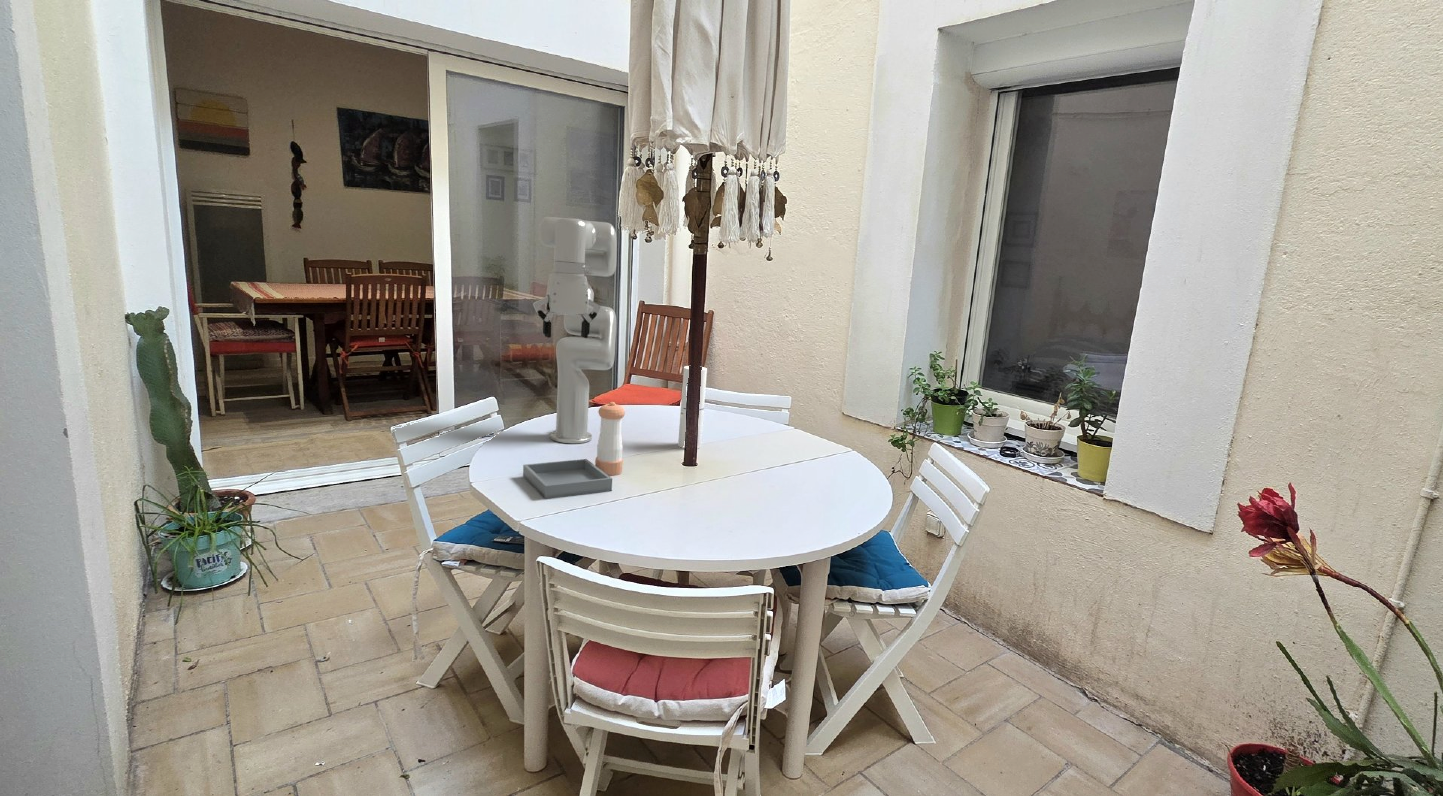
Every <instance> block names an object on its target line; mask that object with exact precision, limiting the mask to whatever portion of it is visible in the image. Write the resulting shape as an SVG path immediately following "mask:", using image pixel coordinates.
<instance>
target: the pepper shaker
mask: <svg viewBox="0 0 1443 796" xmlns="http://www.w3.org/2000/svg"><path fill="white" fill-rule="evenodd" d="M597 413H598V415H599V417H600V430H599V432H600V433H599V437H598V440H597V441H598V442H597V446H596V447H597V449H596V451H597V452H596V458H595V461H594V462H595V463H594V465H595V466H596V467H598V468H599V469H600V470H602V471H603V472H604V473H606V474H607V475H608V476H617V475H620V474H622V473H623V465H624V464H623V461H624V459H623V458H622V456H623V442H622V440H623V439H622V421H623V420H622V419H623V418H624V417H625V415H626V410H625V408H624V407H623V406H621V405H619V404H616V402H614V401H610V402H609V403H607V404H604V405H601V406H600V407H599V408H598V411H597Z"/></svg>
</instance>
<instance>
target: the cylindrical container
mask: <svg viewBox="0 0 1443 796" xmlns="http://www.w3.org/2000/svg"><path fill="white" fill-rule="evenodd" d="M689 366H690V365H685V366H684V367H683V374H682V375H683V377H682V389H681V403H680V414H679V415H680V418H679V429H678V441H677V442H678V443H677V447H678V446H680V447H682V448H681V449H683V446H684V441H685V432H686V386H687V383H688V378H689ZM701 367H702V370H701V393H700V404H699V426H698V446H699V448H700V446H701V447H702V437H703V436H702V434H703V424H704V423H703V422H704V413H705V412H704V411H705V400H706V399H705V398H706V390H707V389H706V388H707V374H708V368H707V367H703V366H701ZM680 447H679V448H680ZM700 449H701V448H700Z"/></svg>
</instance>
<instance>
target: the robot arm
mask: <svg viewBox="0 0 1443 796" xmlns="http://www.w3.org/2000/svg"><path fill="white" fill-rule="evenodd" d="M538 236H539V237H538V238H539V240H540V243H541V244H542V245H543V246H544V247H548V248H554V251H553V252H554V253H553V273H550V274H549V277H548V280H547V286H546V293H545V294H546V295H545V297H543V298H540V299H539V300H536V301H534V302H533V303H532V306H533V309H534V310H535V312H536V314H537V316H538V317H539V318H540V319H541V321H543V322H542V333H543V334H544V337H546V338H548V339H549V338H551V337H552V321H551V319H552V318H553V317H554V316H555V315H563V327H564V330H565V332H566V333H567V334H569V335H574V336H565V337H562V338H560V339H559V340H558V341H557V343H556V347H555V358H556V364H557V365H556V366H557V390H556V391H557V393H556V394H557V395H556V396H557V397H556V398H557V399H556V418H555V420H556V422H555V431H552V432H551V433H550V439H551V440H552V441H555V442H558V443H562V444H563V443H564V444H583V443H588V442H590V441H592V439H593V434H592V433H591V432H589V431H588V423H589V422H588V421H589V420H588V419H589V401H590V382H589V379H588V378H587V376H586V374H585V372H583V371H582V370H592V371H593V370H595V371H608V370H610V369H612V368H613V366H614V363H615V356H616V337H617V315H616V312H615V310H614V309H613V308H612V307H610V306H603V305H600V304H598V303H597V302H595V301H594V300H595V299H594V297H595V292H594V290H593V288H592V286H591V285H590V284H589V282H588V278H587V276H591V277H593V276H595V277H596V276H597V277H606V278H607V277H611V276H613V275H615V272H616V269H617V261H618V260H617V259H618V258H617V247H618V246H617V245H618V242H617V233H616V229H615V226H614V225H613V224H611V223H610V222H606V221H597V220H596V221H594V220H583V219H581V218H574V217H573V218H571V217H566V218H565V217H557V216H555V217H553V216H552V217H551V216H545V217H543V218H542V219H541V221H540V223H539V227H538ZM543 305H544V306H545V312H544V311H543V310H542V306H543ZM592 337H593V338H592ZM594 337H595V338H594Z"/></svg>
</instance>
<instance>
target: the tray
mask: <svg viewBox="0 0 1443 796" xmlns="http://www.w3.org/2000/svg"><path fill="white" fill-rule="evenodd" d="M522 465H523V466H522V467H523V471H522V477H523V478H524V479H525V481H527V483H528V484H530V485H531V486H532V487H533V488H534V489H535V490H536V491H537V493H539V494H540V495H541V497H542V498H543V499H544V500H547V499H554V498H555V499H556V498H564V497H571V496H581V495H588V494H589V495H590V494H596V493H597V494H598V493H604V492H605V493H606V492H612V490H613V478H612V477H611V475H607V474H606V473H604V472H603V471H602V470H600V469H599V468H598V467H596V466H595V463H593V462H591V461H590V460H588V458H581V459H573V460H572V459H571V460H569V459H568V460H561V461H559V460H558V461H550V462H538V463H528V464H522Z"/></svg>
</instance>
